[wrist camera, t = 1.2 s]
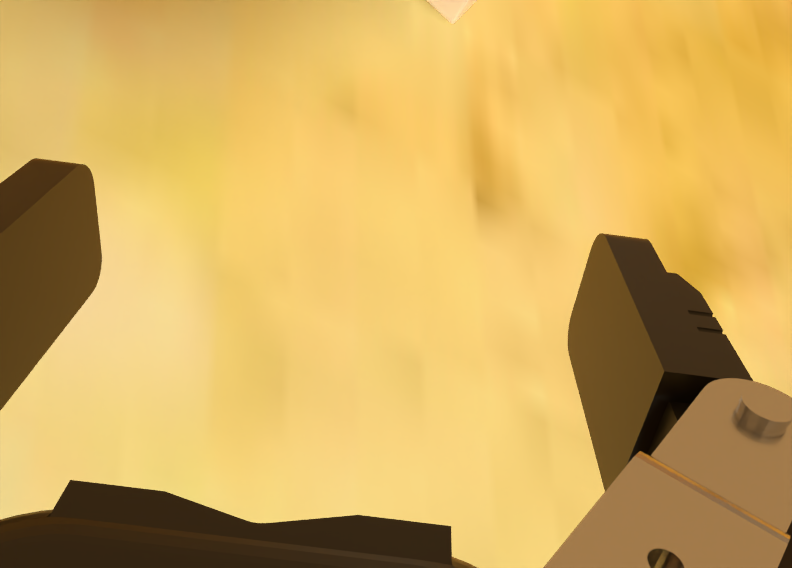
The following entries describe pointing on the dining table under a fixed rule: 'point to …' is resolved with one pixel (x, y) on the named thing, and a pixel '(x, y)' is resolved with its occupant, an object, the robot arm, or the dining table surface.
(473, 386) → the dining table surface
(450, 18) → the milk carton
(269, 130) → the dining table surface
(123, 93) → the dining table surface
